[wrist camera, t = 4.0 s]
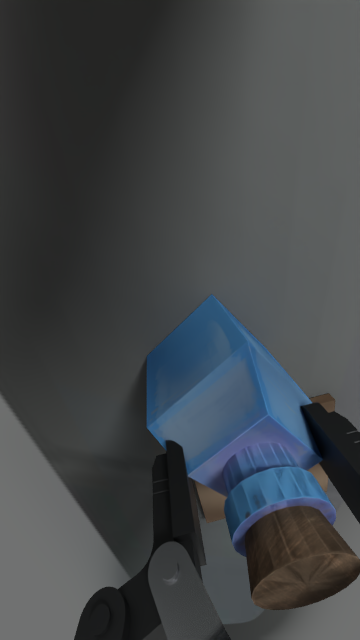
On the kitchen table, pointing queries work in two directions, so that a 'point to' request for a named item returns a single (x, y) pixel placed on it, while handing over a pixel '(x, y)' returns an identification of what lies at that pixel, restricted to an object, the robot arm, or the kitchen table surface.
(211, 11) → the kitchen table surface
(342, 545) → the perfume bottle
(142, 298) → the kitchen table surface
